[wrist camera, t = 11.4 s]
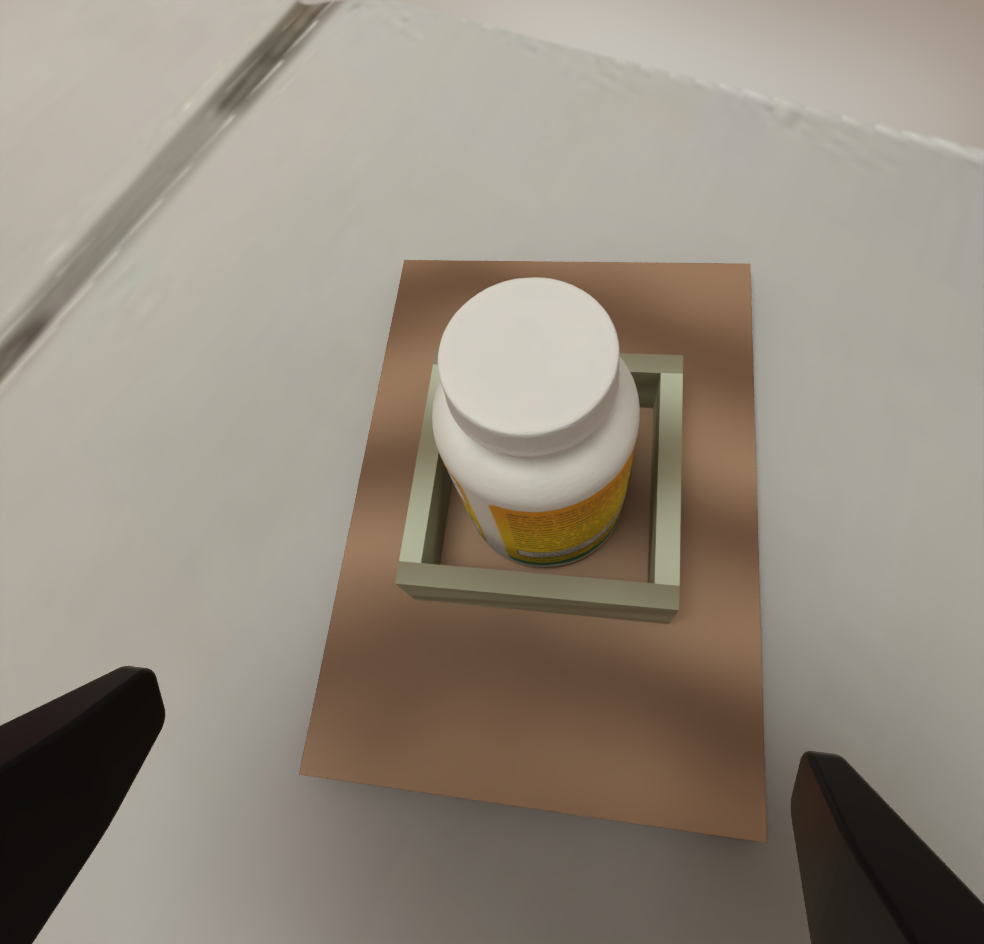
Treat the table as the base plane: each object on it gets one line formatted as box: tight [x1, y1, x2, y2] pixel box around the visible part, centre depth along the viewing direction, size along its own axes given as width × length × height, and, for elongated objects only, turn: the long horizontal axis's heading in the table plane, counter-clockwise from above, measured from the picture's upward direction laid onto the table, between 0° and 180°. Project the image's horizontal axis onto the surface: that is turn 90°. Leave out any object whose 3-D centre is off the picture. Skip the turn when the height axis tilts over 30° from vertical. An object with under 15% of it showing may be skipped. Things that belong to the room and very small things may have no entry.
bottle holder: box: [299, 260, 767, 843], centre depth 22 cm, size 20×14×4 cm
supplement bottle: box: [432, 277, 640, 567], centre depth 19 cm, size 5×5×10 cm
